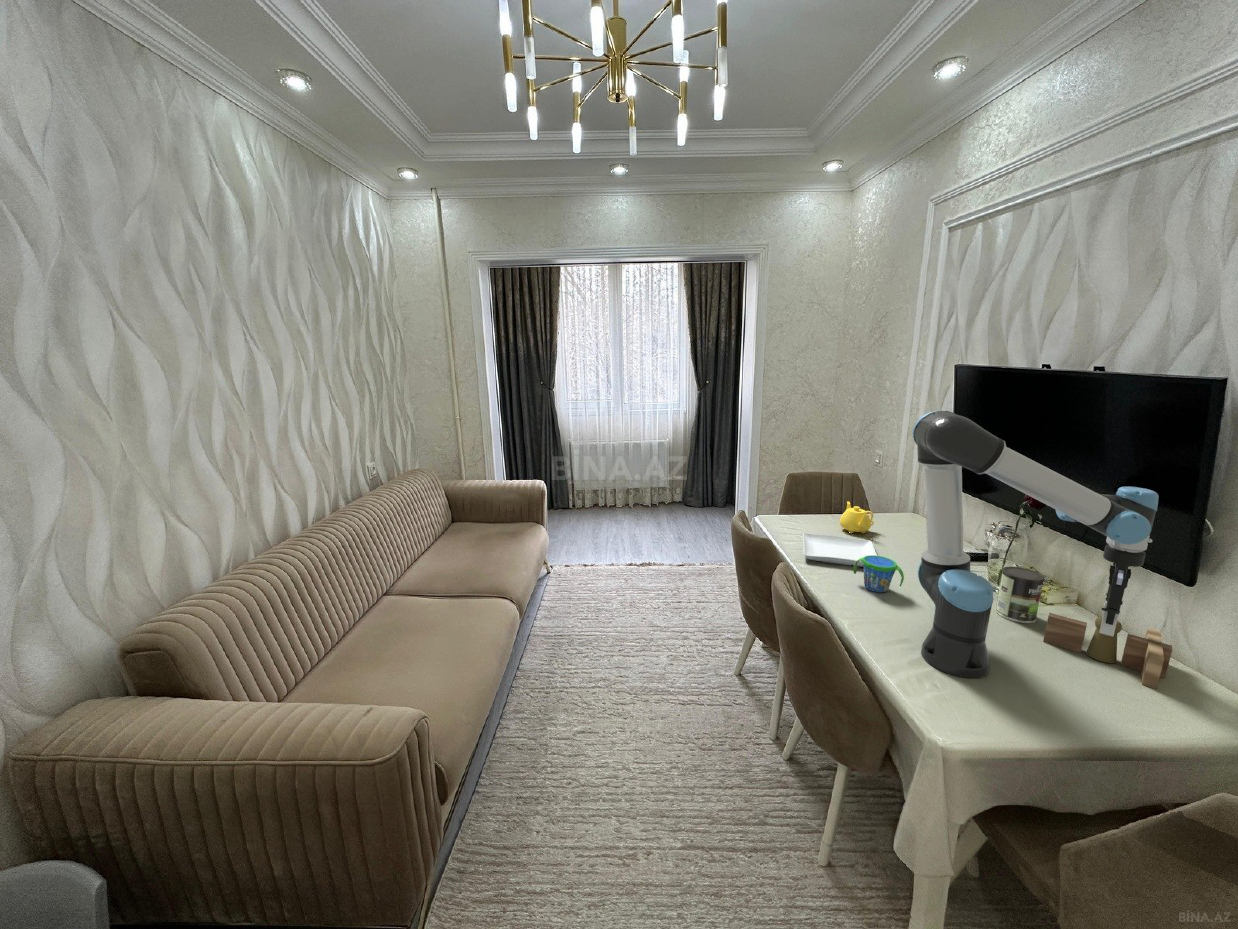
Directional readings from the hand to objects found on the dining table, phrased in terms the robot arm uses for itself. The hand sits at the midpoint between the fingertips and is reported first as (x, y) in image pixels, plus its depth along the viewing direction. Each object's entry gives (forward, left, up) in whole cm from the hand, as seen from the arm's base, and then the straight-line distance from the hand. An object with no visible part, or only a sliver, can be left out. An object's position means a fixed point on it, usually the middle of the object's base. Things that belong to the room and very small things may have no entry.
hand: (1106, 629), depth 137 cm
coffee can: (+12, +20, -8) cm, 25 cm away
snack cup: (+1, +57, -8) cm, 58 cm away
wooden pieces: (0, 0, -8) cm, 8 cm away
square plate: (+23, +79, -9) cm, 83 cm away
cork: (0, 0, -8) cm, 8 cm away
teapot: (+57, +84, -8) cm, 102 cm away
